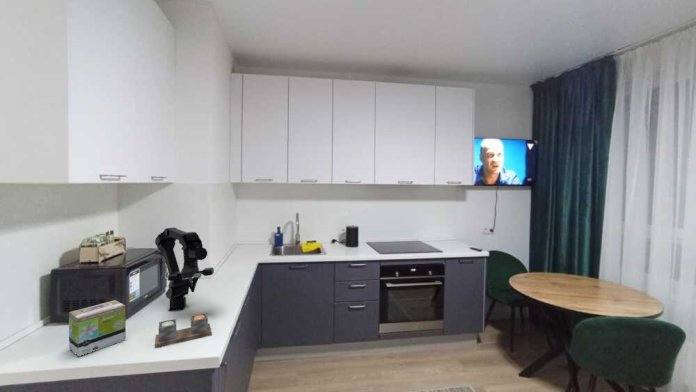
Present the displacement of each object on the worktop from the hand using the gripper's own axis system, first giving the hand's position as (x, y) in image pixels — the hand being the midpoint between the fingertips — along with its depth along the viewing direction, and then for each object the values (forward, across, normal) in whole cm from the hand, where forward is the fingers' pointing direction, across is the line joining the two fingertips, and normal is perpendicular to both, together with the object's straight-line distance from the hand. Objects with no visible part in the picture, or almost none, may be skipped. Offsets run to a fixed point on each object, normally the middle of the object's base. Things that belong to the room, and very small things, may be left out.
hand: (192, 291), depth 142 cm
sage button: (+8, -5, -20) cm, 23 cm away
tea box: (+12, -30, -17) cm, 37 cm away
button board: (+14, 0, -18) cm, 23 cm away
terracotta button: (+9, +6, -17) cm, 20 cm away
